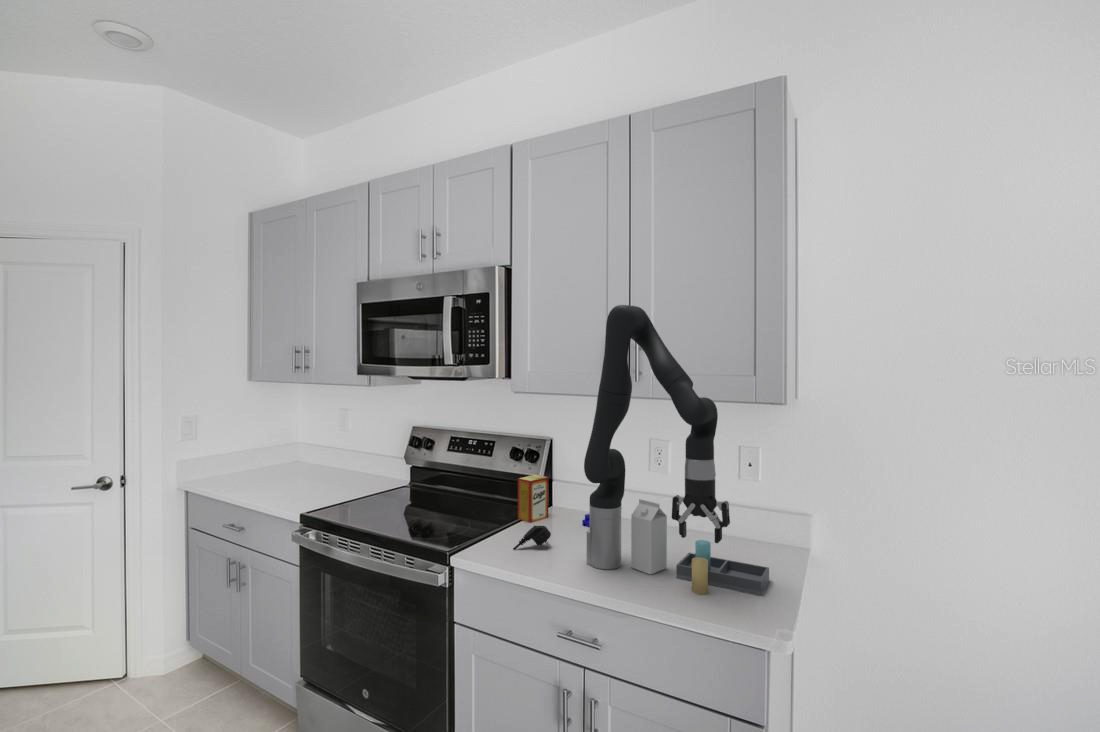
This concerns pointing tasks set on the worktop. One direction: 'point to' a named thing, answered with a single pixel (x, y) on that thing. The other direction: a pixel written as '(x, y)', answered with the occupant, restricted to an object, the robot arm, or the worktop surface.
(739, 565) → the grey divided tray
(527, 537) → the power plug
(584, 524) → the cable holder
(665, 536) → the milk carton
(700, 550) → the teal rounded cylinder
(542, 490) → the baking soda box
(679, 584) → the worktop surface
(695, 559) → the tan rounded cylinder
